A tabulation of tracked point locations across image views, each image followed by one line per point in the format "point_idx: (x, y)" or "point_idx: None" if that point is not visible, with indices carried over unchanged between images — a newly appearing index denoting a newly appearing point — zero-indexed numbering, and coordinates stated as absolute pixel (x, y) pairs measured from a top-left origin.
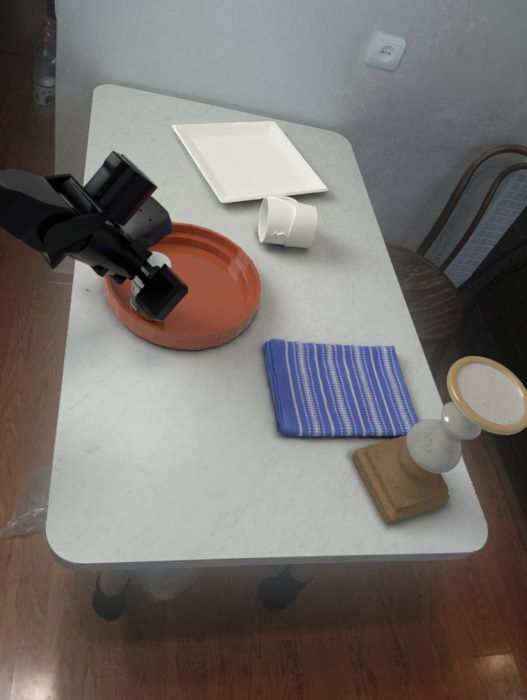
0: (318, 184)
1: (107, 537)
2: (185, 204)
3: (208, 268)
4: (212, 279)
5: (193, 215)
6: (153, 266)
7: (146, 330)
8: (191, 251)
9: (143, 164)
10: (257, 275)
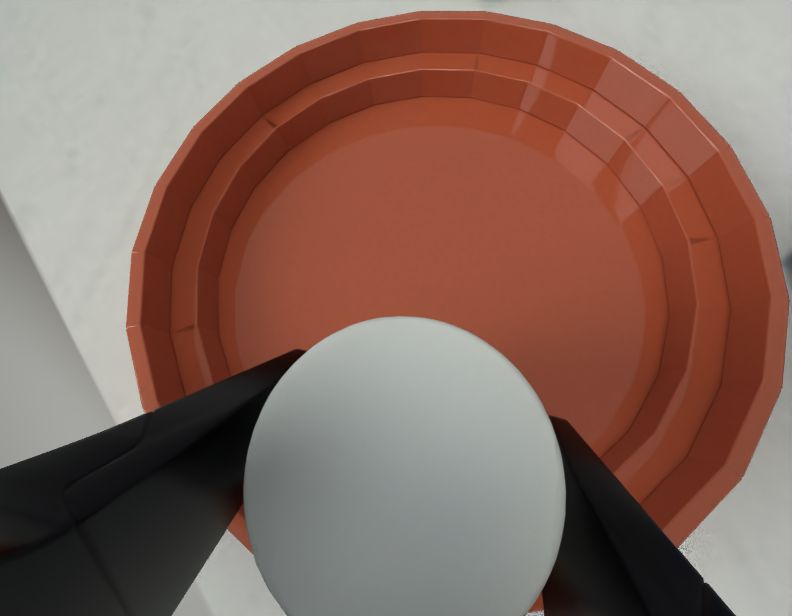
0: None
1: None
2: (231, 26)
3: (433, 149)
4: (473, 173)
5: (270, 38)
6: (427, 534)
7: None
8: (351, 135)
9: (67, 4)
10: (621, 58)
